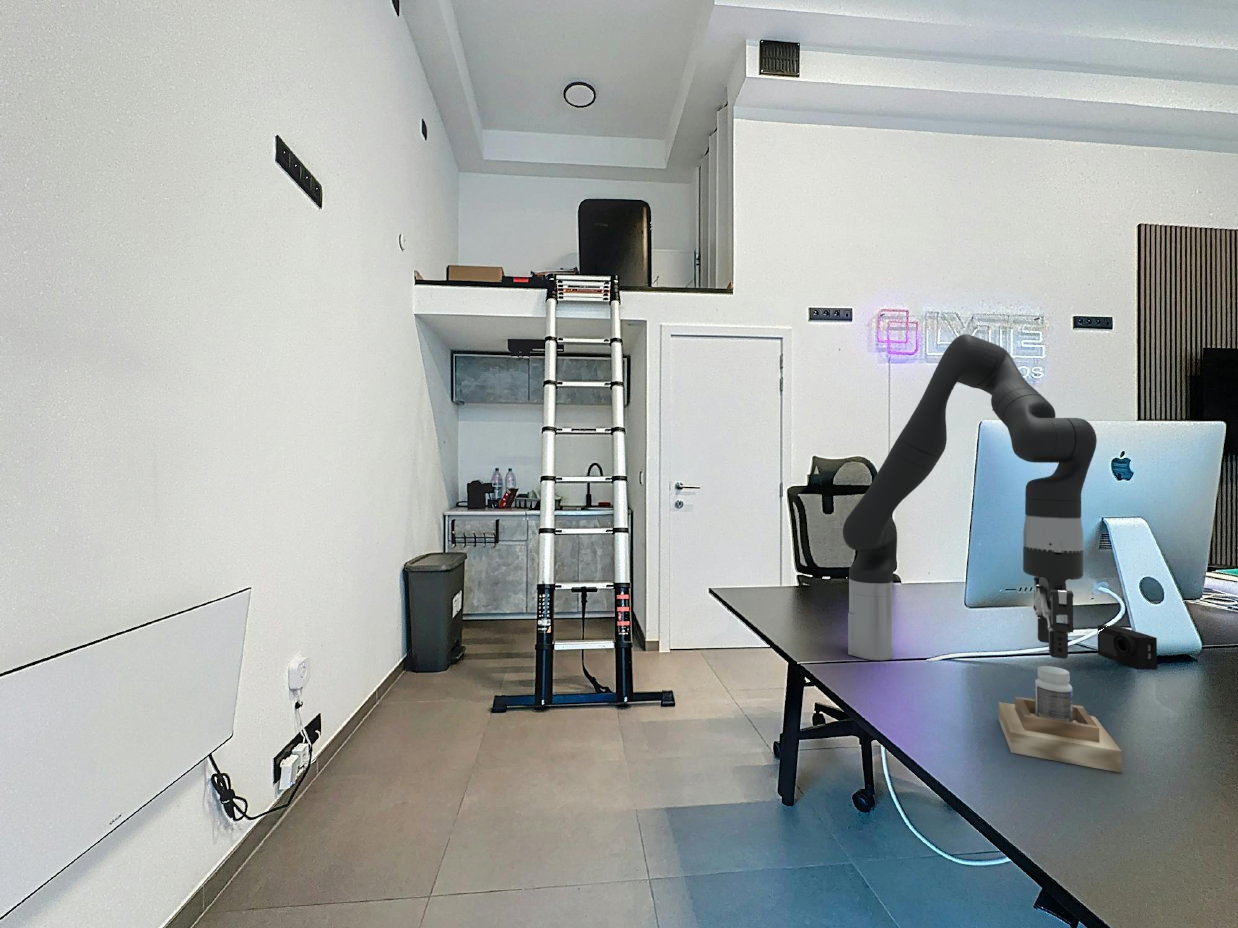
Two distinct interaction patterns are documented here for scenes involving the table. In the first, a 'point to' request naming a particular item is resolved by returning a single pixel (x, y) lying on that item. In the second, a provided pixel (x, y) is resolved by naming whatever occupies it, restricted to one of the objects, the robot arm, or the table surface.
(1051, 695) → the pill bottle
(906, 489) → the robot arm
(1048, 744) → the wooden base
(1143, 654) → the digital camera
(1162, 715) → the table surface
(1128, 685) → the table surface
